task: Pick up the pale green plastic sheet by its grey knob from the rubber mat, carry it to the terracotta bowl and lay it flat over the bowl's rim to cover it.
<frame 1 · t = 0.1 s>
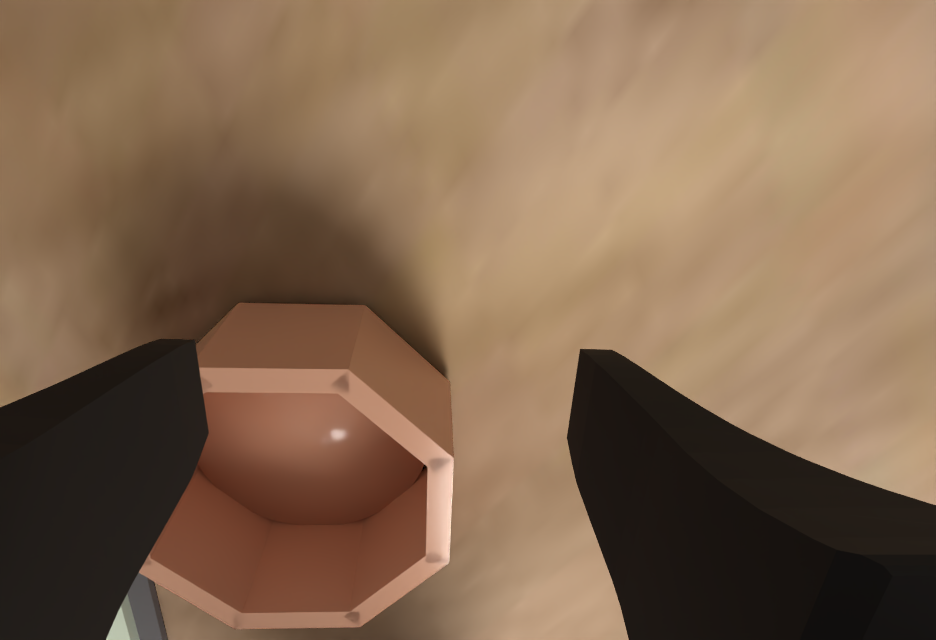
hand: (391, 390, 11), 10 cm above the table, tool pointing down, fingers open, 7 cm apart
bowl: (313, 423, 24), on the table
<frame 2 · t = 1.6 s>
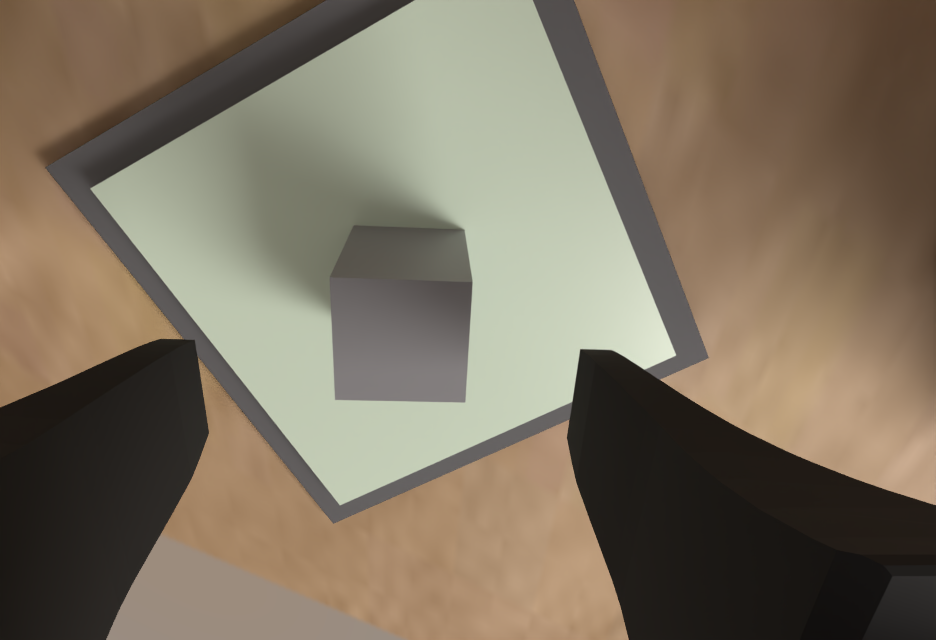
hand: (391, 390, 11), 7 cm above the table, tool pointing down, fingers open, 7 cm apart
mat: (410, 267, 18), on the table
sheet: (409, 272, 17), resting on mat
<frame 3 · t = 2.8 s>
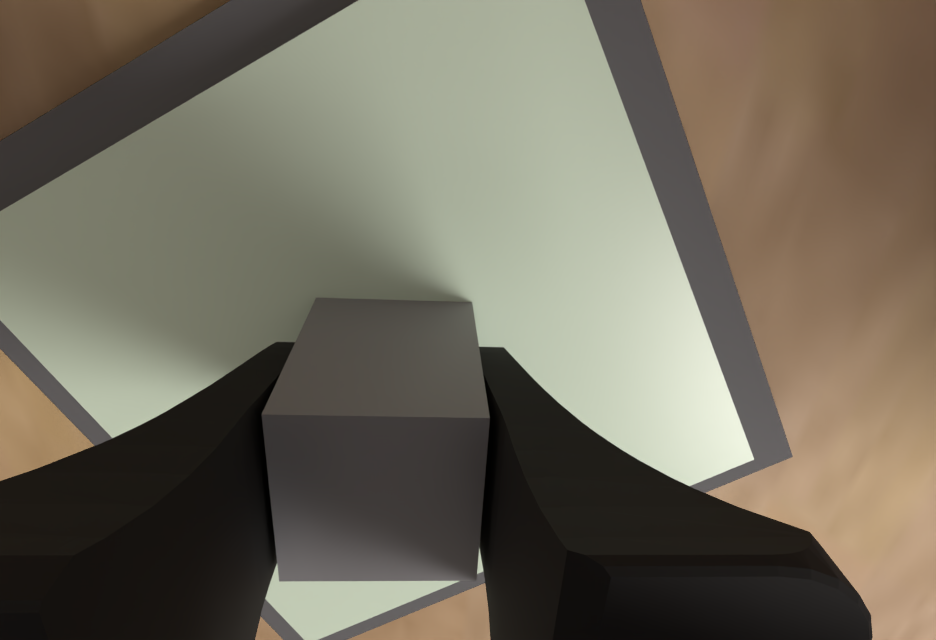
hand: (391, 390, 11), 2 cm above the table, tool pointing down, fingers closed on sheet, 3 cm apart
mat: (397, 345, 13), on the table
sheet: (396, 354, 13), resting on mat, touching gripper
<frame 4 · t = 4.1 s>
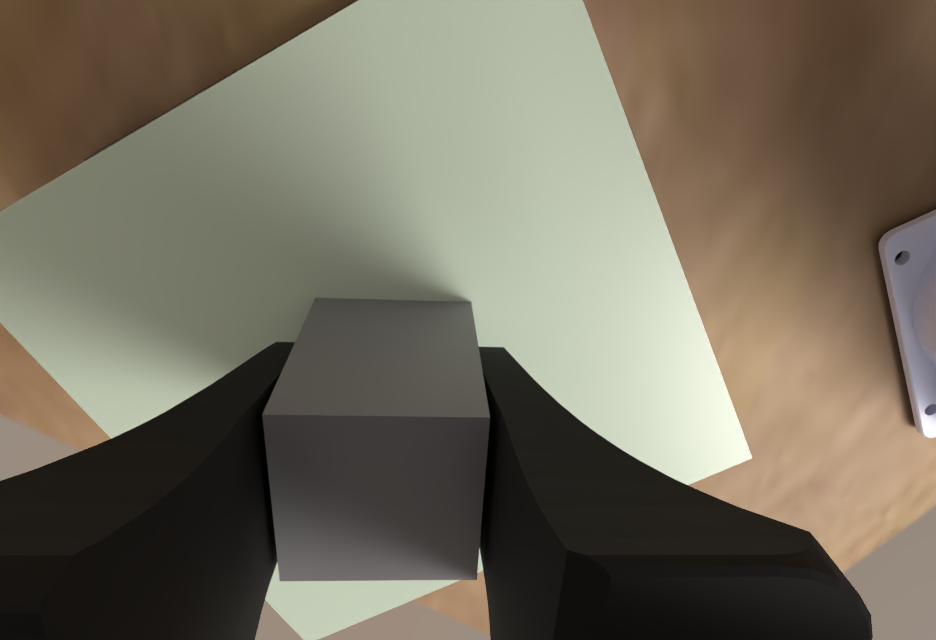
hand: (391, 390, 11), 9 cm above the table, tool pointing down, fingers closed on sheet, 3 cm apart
mat: (404, 249, 20), on the table
sheet: (395, 353, 13), point 8 cm above the table, touching gripper
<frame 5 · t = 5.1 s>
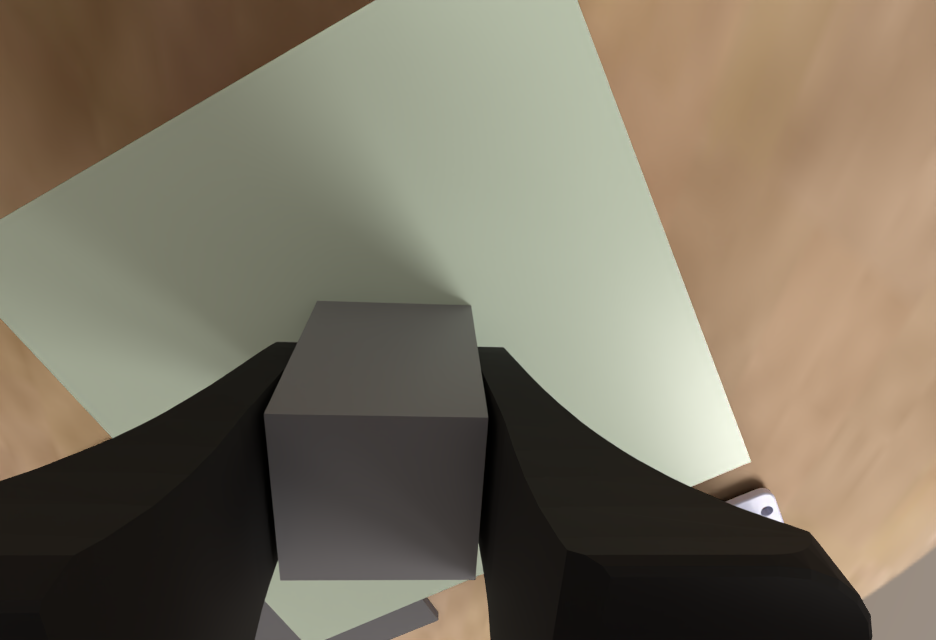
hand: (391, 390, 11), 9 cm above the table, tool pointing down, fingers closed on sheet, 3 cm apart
mat: (216, 571, 25), on the table
sheet: (396, 356, 13), point 8 cm above the table, touching gripper
when the fingers open (7 cm above the table, at t = 5.8 s): sheet stays where it is, resting on bowl.
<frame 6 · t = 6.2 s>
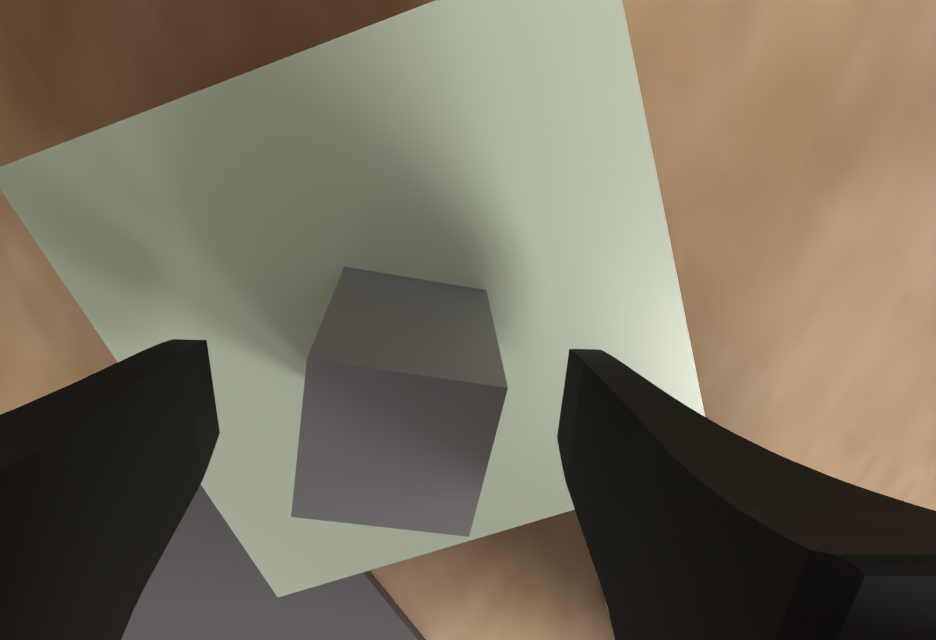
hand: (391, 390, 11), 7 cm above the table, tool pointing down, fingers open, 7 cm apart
mat: (199, 614, 24), on the table
sheet: (406, 329, 14), point 5 cm above the table, touching bowl
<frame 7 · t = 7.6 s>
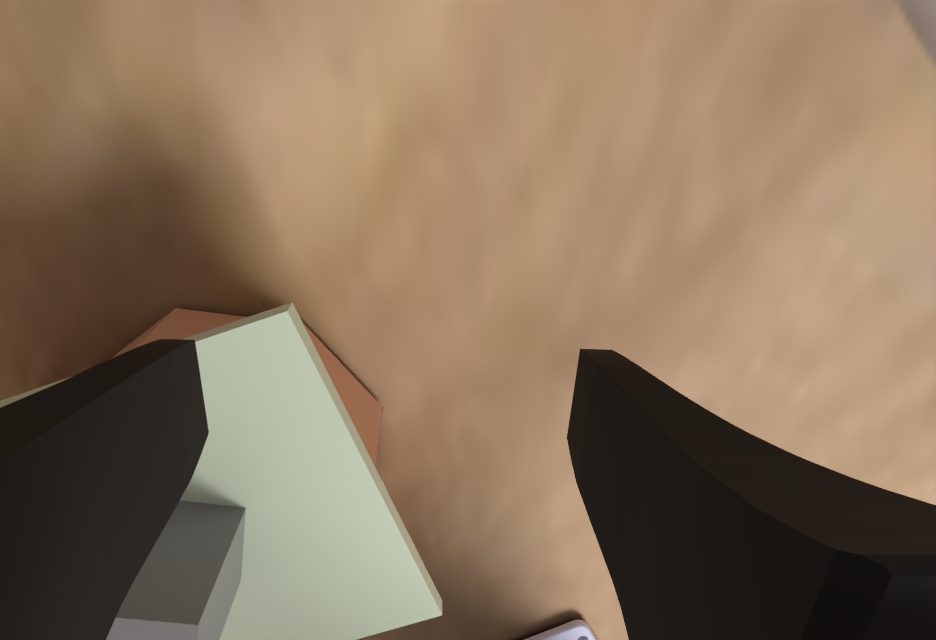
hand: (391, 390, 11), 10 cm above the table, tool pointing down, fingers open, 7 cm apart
bowl: (242, 433, 23), on the table, touching sheet
sheet: (200, 525, 19), point 5 cm above the table, touching bowl
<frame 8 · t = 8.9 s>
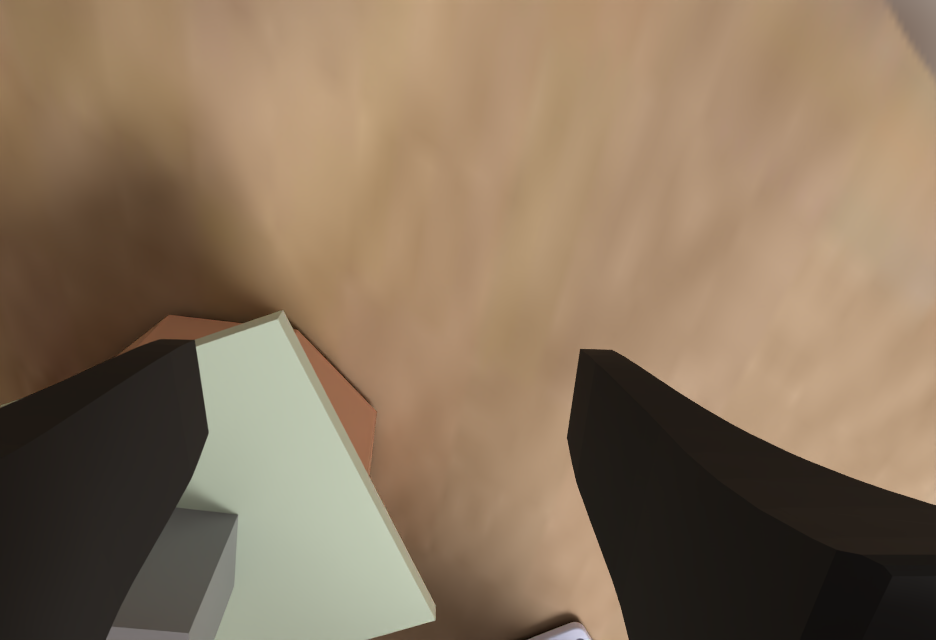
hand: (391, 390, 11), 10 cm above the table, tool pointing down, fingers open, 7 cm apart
bowl: (237, 439, 23), on the table, touching sheet
sheet: (193, 531, 19), point 5 cm above the table, touching bowl
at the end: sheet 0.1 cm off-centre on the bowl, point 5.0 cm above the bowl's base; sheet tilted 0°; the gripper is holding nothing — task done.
